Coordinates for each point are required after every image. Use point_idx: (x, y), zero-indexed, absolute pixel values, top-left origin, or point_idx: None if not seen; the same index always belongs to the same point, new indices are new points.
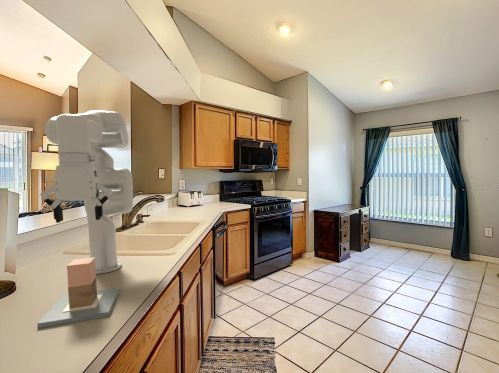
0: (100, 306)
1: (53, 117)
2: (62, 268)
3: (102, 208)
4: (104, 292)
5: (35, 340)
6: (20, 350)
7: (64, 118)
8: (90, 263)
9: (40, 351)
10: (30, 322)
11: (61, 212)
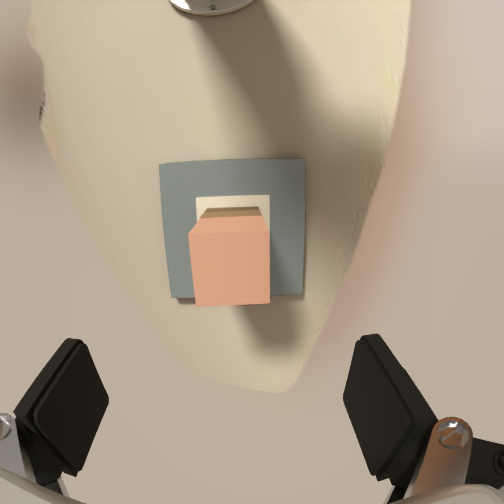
0: (279, 263)
1: None
2: None
3: (427, 404)
4: (269, 180)
5: (191, 328)
6: (184, 346)
7: None
8: (269, 294)
9: (216, 356)
10: (145, 261)
11: (65, 407)
